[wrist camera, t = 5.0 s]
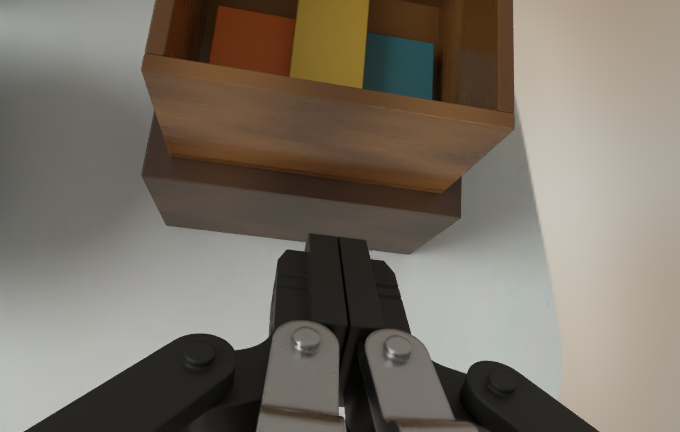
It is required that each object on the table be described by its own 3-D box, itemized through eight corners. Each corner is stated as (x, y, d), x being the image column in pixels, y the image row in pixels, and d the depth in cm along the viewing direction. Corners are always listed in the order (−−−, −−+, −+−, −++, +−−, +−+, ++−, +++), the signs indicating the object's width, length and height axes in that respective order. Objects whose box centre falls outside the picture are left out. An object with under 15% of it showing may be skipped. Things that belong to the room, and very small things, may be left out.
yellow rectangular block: (297, 3, 24) (300, -15, 23) (364, 15, 24) (369, -2, 23) (286, 94, 23) (288, 80, 22) (356, 106, 23) (362, 92, 22)
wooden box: (446, 7, 28) (512, -109, 21) (441, 194, 25) (515, 129, 18) (205, -39, 26) (193, -180, 19) (169, 156, 23) (140, 69, 16)
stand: (416, 89, 35) (464, 12, 28) (409, 254, 32) (461, 218, 25) (196, 53, 33) (183, -41, 26) (165, 225, 30) (140, 176, 23)
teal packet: (426, 57, 26) (435, 43, 25) (424, 114, 25) (432, 102, 24) (333, 41, 25) (337, 25, 24) (327, 99, 24) (331, 86, 23)
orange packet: (318, 38, 25) (321, 23, 24) (311, 97, 24) (315, 83, 23) (218, 21, 24) (217, 4, 23) (208, 80, 24) (206, 65, 22)
